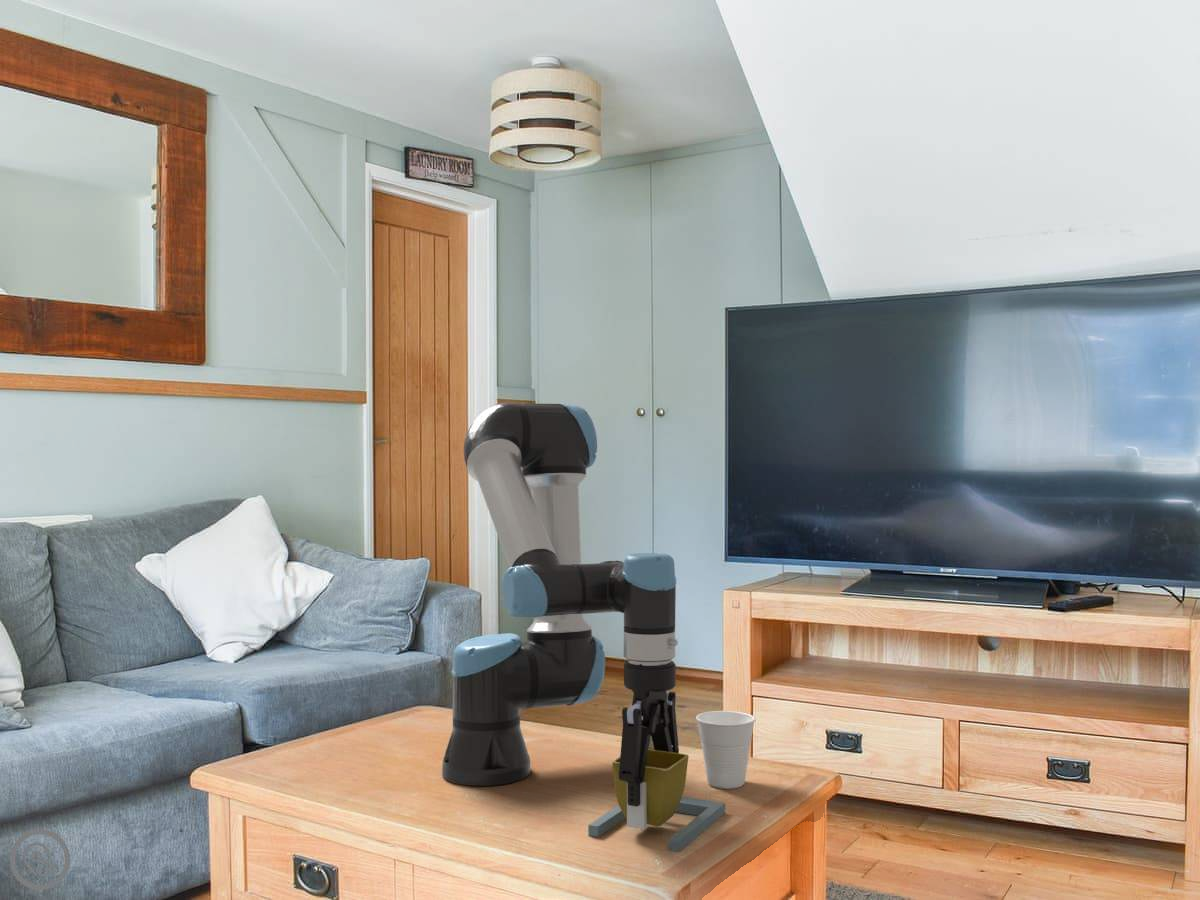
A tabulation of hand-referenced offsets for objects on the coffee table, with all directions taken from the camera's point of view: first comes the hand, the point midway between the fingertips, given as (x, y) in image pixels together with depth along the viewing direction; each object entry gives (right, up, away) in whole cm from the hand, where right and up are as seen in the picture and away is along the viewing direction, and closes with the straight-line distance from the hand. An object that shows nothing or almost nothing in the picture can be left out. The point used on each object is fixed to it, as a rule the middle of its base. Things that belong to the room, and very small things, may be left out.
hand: (650, 817), depth 147 cm
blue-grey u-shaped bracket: (+1, -2, +3) cm, 4 cm away
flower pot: (0, -1, 0) cm, 1 cm away
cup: (+14, -3, +22) cm, 26 cm away
